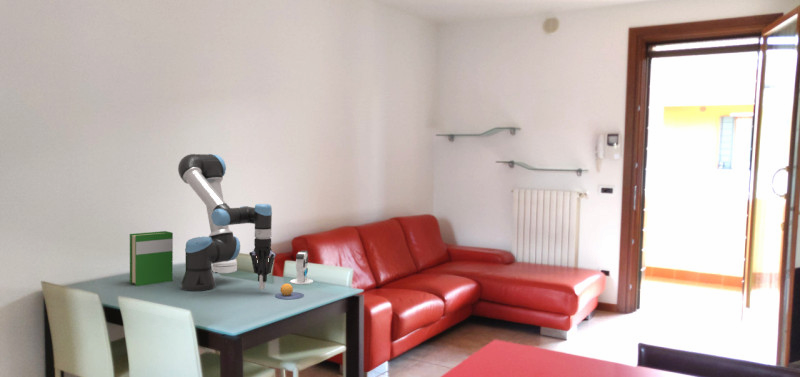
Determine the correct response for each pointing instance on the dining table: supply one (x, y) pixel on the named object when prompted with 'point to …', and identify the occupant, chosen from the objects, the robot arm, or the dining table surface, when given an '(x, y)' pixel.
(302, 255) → the white stand device
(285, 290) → the ball
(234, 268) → the honey pot
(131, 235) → the hardback book
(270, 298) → the dining table surface
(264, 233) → the robot arm
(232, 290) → the dining table surface
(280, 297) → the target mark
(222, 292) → the dining table surface
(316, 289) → the dining table surface
